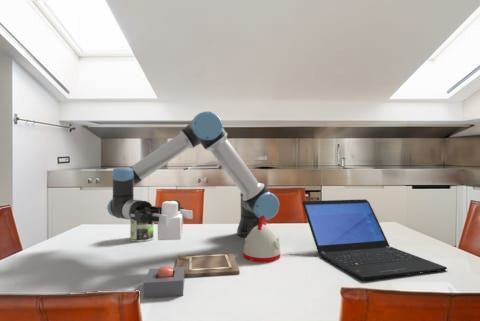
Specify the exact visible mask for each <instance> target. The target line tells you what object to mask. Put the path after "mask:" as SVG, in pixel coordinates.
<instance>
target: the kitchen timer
mask: <svg viewBox="0 0 480 321" xmlns="http://www.w3.org/2000/svg"><path fill="white" fill-rule="evenodd" d="M265 219H266V218H265V216H261V217H260V220H259V224H258V225H257V226H256V227H254V228H253V229H252V230H251V232H250V233H249V235H248V236H247V238H245V237H244V243H243V250H242V251H243V252H242V254H243V258H244V259H245V260H247V261H249V262H253V263H273V262H276V261H279V260H280V259H281V249H280V248H281V246H280V240H279V237H277V236H276V234H275V233H274V231H273V230H272V229H271V228H270V227H269V226H268V225H267V224H266V225H265V222H266V220H265Z"/></svg>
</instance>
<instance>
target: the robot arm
mask: <svg viewBox="0 0 480 321" xmlns="http://www.w3.org/2000/svg"><path fill="white" fill-rule="evenodd" d="M199 145H201V146H202V147H203V149H204V150H206V151H210V152H211V153H212V155H213V156H214V158H215V159H216V160H217V161H218V163H219V164H220V165H221V166H222V168H223V169H224V171H225V172H226V173H227V174H228V176H229V177H230V179H231V180H232V182H233V183H234V185H236V187H237V188H238V189H239V190H240V219H239V222H238V226H237V229H236V235H237V236H238V237H240V238H244V239H245V238H247V236H248V235H249V233H250V232H251V230H252V229H253V228H254V227H256V226H257V225H258V224H259V220H260V217H261V216H265V218H266V219H265V225H266V226H267V223H266V220H271V219H273V218H274V217H275V216H276V215H277V214H278V213H279V210H280V200H279V199H278V196H276V195H275V194H274V193H272V192H271V191H270V190H269V189H268V188H267V186H266V185H265V183H263V182H262V183H261V182H259V181H258V179H257V178H256V177H255V176H254V174H253V173H252V171H251V170H250V168H249V167H248V166H247V165H246V163H245V162H244V161H243V160H244V159H242V158H241V156H240V155H239V154H238V152H237V150H236V149H235V148H234V146H233V145H232V144H231V143H230V141H229V140H228V132H227V131H226V129H225V128H224V126H223V122H222V120H221V118H220V117H219V115H218V114H216V113H215V112H213V111H202V112H199V113H197V114H196V115H195V116H194V117H193V119H192V120H191V121H190V123H188V124H187V125H186V126H185V127H184V128H183V129H181V130H179V134H177V135H176V136H175V137H173V138H172V139H170V140H169V141H167V142H165V143H164V144H163V145H161V146H160V147H157V149H155V150H154V151H152V152H151V153H149V154H148V155H146V156H145V157H144V158H141V159H140V160H139V161H137V162H136V163H135V164H133V165H131V166H130V167H115V168H113V169H112V176H111V178H112V198H111V200H109V201H108V204H107V212H108V214H109V215H111V216H112V217H115V218H116V219H124V220H132V221H133V222H134V221H138V222H141V223H145V222H146V221H148V224H149V225H150V224H152V221H153V224H154V223H156V224H158V223H160V224H165V225H167V224H168V215H162V214H161V206H155V205H153V204H151V203H150V202H149V201H148V200H141V199H135V198H134V195H135V194H134V186H136V185H138V184H139V183H140V182H142V181H143V180H145V179H146V178H147V177H149V176H150V175H152V174H153V173H155V172H156V171H158V170H159V169H161V168H162V167H163V166H165V165H166V164H168V163H170V162H171V161H172V160H173V159H175V158H177V157H178V156H180V155H181V154H183V153H185V151H187V150H188V149H194V148H195V147H197V146H199ZM179 214H183V219H188V220H193V217H194V213H193V210H190V209H184V207H182V206H180V213H179Z"/></svg>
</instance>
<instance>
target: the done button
mask: <svg viewBox="0 0 480 321" xmlns="http://www.w3.org/2000/svg"><path fill="white" fill-rule="evenodd" d="M158 268H159V269H158V278H167V277H173V266H169V265H165V266H161V267H158Z"/></svg>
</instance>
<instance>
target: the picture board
mask: <svg viewBox="0 0 480 321" xmlns="http://www.w3.org/2000/svg"><path fill="white" fill-rule="evenodd" d="M175 267H184V278H197V277H200V278H201V277H215V276H231V275H240V269H239V266H238V263H237V261H236V259H235V257H234V253H233V252H228V253H225V252H224V253H223V252H222V253H209V254H207V253H206V254H205V253H204V254H189V255H187V254H185V255H178V256H177V261H176V264H175Z"/></svg>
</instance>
